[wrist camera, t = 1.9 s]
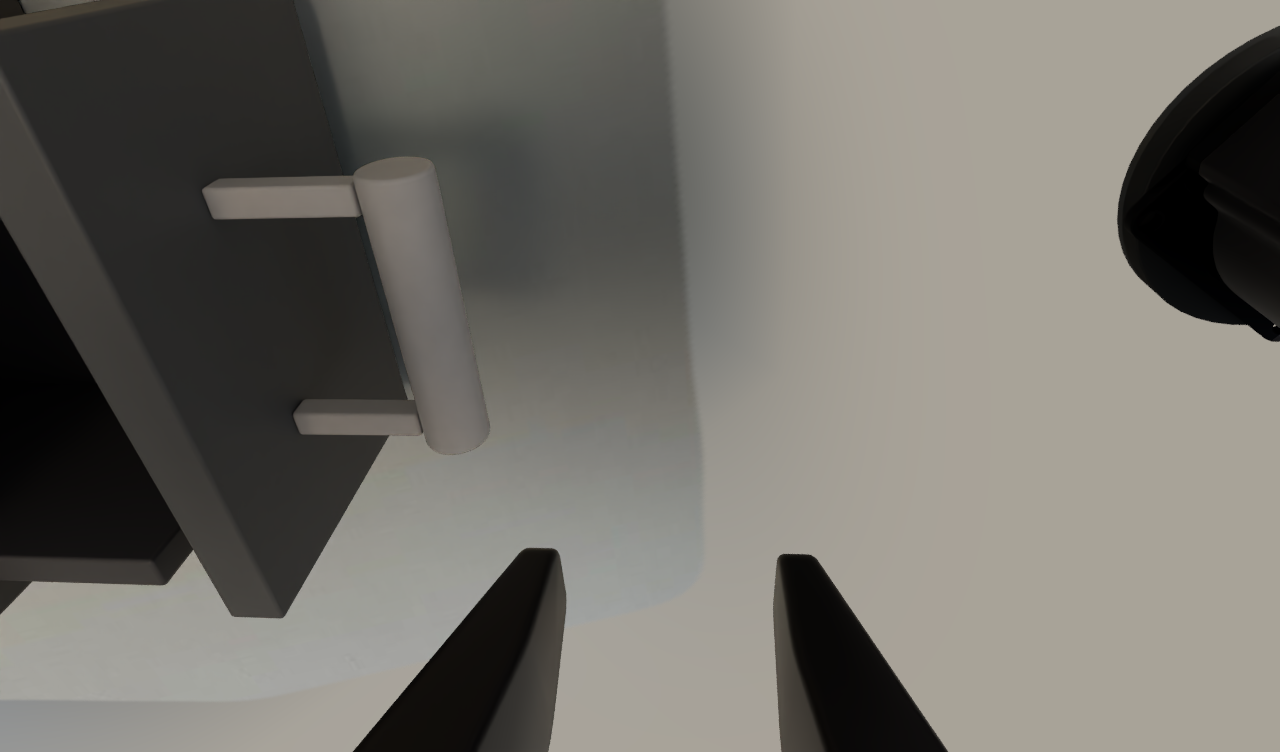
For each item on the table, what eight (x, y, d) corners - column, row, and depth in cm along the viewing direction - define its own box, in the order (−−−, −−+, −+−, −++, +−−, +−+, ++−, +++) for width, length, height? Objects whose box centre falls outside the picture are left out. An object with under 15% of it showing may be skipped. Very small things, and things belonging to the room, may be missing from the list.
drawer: (478, -38, 15) (304, 20, 8) (545, 403, 21) (476, 626, 15) (-272, 0, 16) (-897, 73, 10) (1, 400, 23) (-274, 600, 16)
